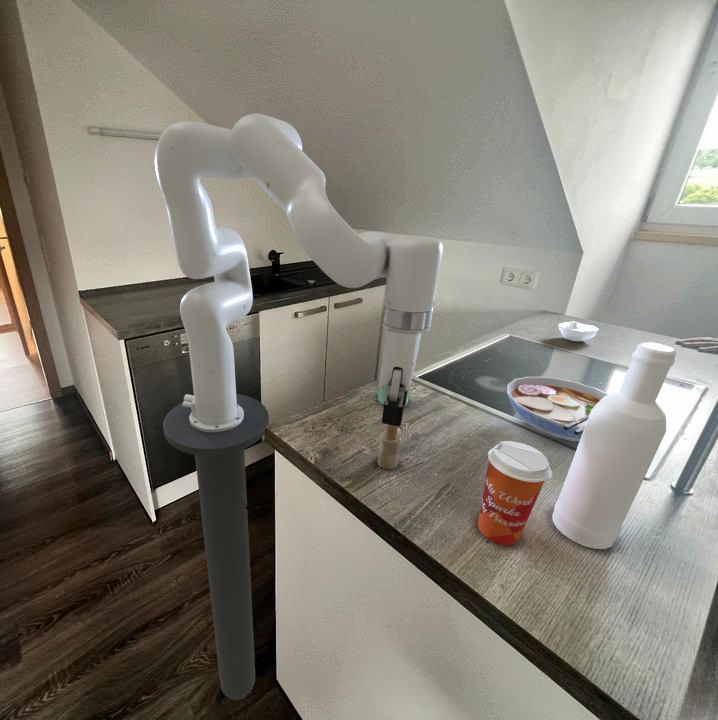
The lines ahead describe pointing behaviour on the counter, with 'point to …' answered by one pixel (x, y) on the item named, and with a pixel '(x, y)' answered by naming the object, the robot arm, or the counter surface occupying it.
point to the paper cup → (511, 490)
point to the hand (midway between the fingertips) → (393, 412)
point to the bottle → (615, 452)
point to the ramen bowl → (554, 404)
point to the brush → (389, 447)
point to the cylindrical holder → (384, 390)
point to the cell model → (577, 331)
